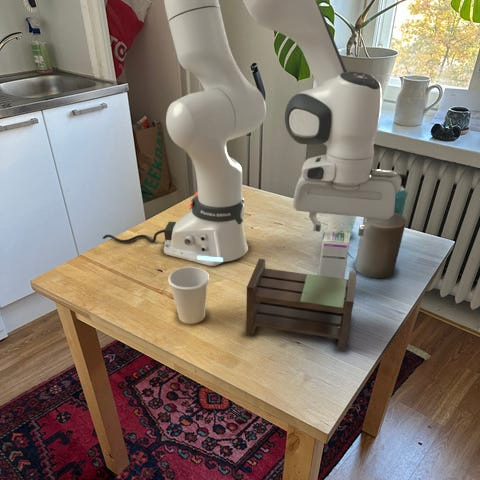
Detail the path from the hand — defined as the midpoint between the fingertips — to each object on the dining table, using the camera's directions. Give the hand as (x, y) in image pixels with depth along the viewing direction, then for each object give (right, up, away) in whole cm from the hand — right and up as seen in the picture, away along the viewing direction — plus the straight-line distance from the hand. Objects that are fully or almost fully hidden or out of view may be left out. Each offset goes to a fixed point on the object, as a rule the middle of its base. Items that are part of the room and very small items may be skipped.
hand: (339, 232), depth 96 cm
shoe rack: (-9, -20, -1) cm, 22 cm away
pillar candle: (+13, -6, +18) cm, 23 cm away
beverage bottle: (+18, +1, +26) cm, 32 cm away
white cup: (+7, +5, +32) cm, 33 cm away
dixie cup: (-32, -18, +2) cm, 36 cm away
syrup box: (0, -12, +10) cm, 15 cm away
